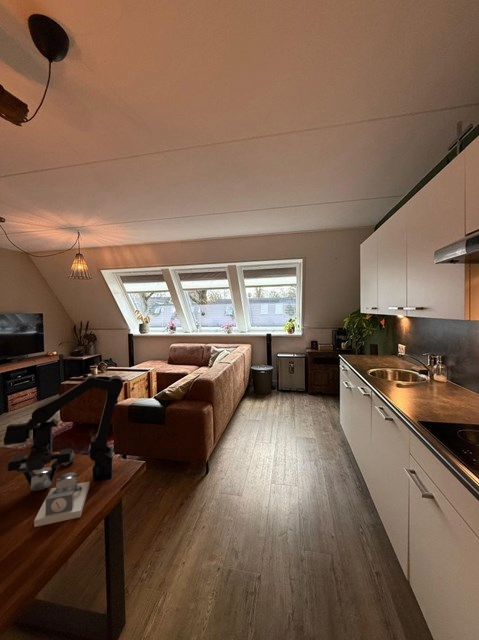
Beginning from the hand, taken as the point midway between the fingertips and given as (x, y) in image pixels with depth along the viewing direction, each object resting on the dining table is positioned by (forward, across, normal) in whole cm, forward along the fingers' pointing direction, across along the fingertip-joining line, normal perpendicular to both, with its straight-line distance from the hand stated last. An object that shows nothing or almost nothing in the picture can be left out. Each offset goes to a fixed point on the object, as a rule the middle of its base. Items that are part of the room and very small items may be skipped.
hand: (41, 482), depth 95 cm
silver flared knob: (+1, 0, 0) cm, 1 cm away
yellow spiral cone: (+3, +4, +16) cm, 17 cm away
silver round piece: (0, +10, -10) cm, 14 cm away
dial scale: (+3, +10, -12) cm, 16 cm away
